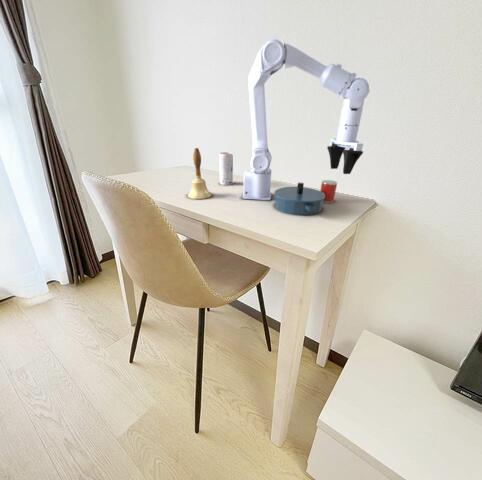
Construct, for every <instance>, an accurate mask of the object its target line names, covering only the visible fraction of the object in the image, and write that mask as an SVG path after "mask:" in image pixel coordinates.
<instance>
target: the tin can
mask: <svg viewBox="0 0 482 480" xmlns="http://www.w3.org/2000/svg"><path fill="white" fill-rule="evenodd" d="M337 185H338V182H337V181H335V180H332V179H331V180H330V179H324V180H321V185H320V190H319V191H321V192H322V193H324V194H325V199H324V200H323V203H324V204H332V203H334V201H335V197H336V191H337Z"/></svg>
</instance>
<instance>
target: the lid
mask: <svg viewBox="0 0 482 480" xmlns="http://www.w3.org/2000/svg"><path fill="white" fill-rule="evenodd" d="M304 184H305V183H304V182H297V185H296V186H285V187H280V188H278V189H275V190H274V195H275V197H276V196H277V197H278V198H280V199H283V200H286V201H291V202H298V203H314V202H319V201H322V200H324V199H325V194H324V193H322V192H321V191H320V190H318V189H316V188H312V187H311V188H310V187H304Z"/></svg>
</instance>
